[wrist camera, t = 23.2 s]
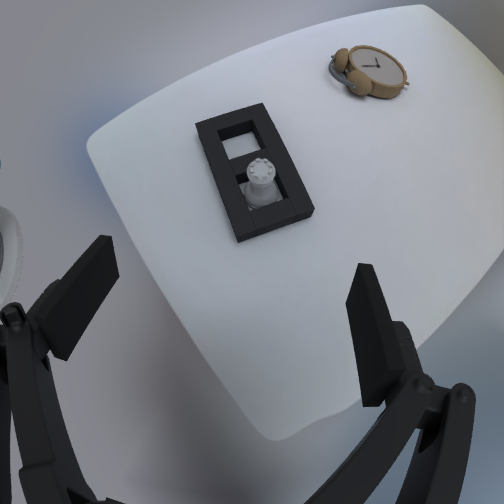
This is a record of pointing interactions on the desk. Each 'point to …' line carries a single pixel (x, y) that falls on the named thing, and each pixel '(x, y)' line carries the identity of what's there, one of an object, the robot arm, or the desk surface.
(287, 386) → the desk surface
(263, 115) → the socket pad
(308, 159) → the desk surface
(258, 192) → the rook chess piece
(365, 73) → the alarm clock
